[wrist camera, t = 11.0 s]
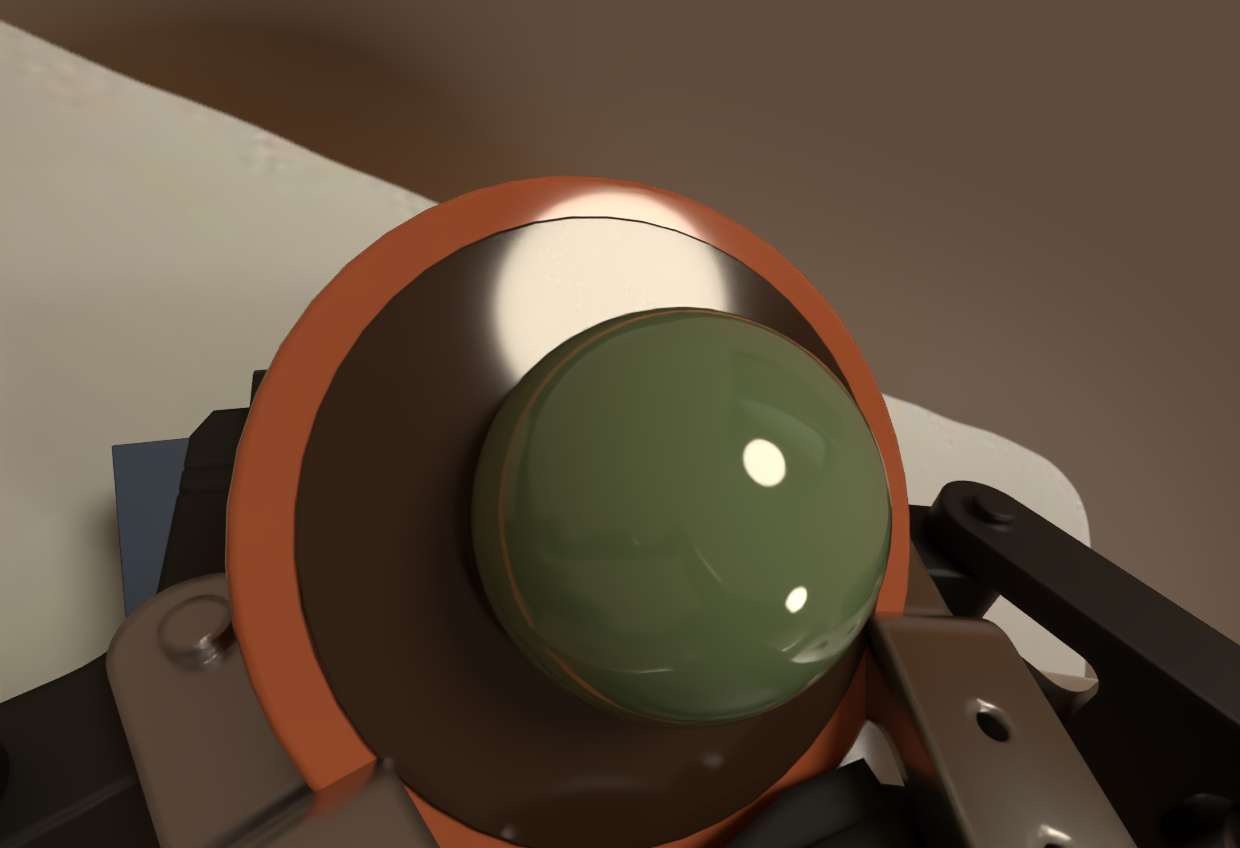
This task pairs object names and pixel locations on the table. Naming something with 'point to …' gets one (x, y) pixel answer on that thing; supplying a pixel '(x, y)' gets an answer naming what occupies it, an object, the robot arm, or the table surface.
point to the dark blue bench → (145, 511)
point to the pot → (567, 521)
